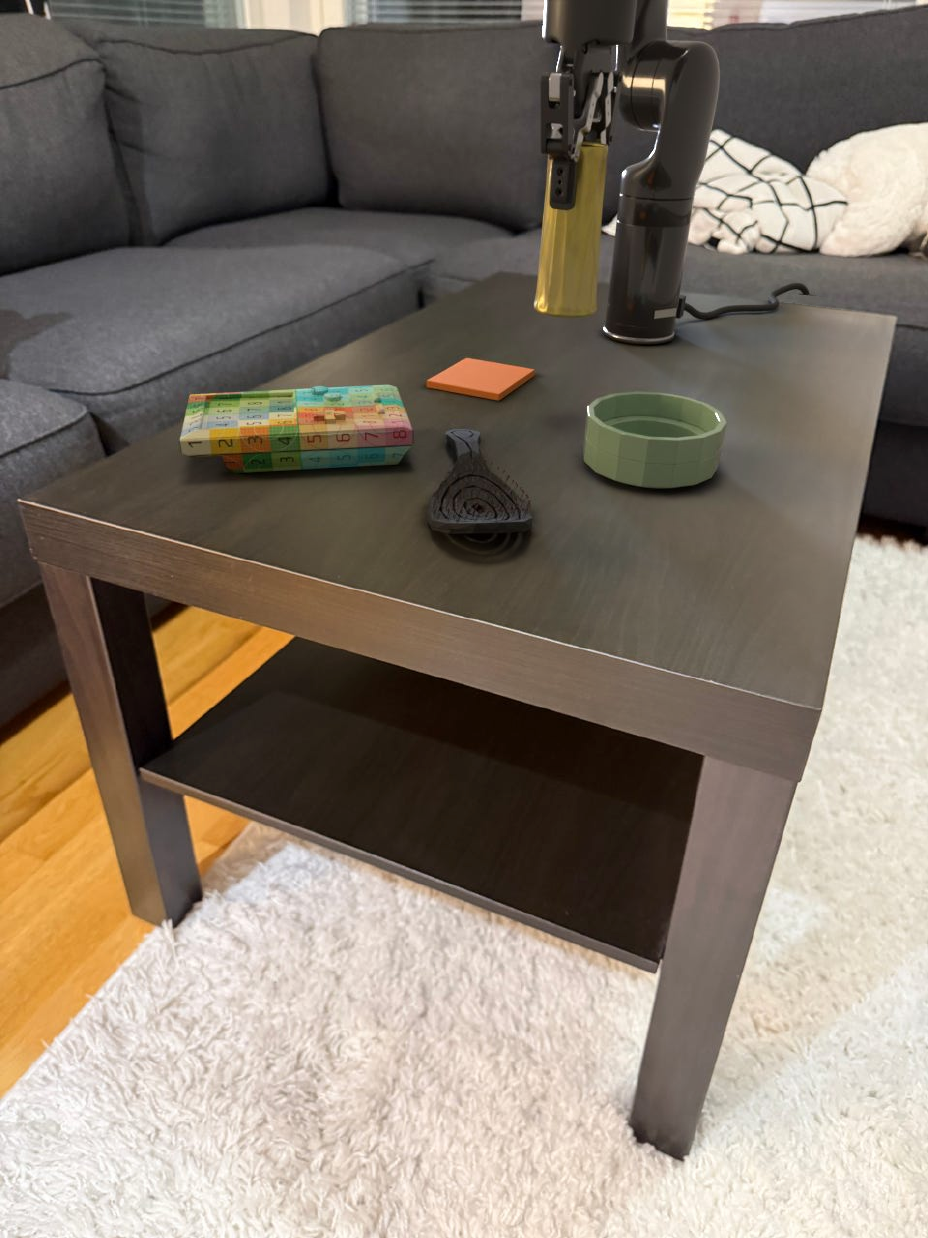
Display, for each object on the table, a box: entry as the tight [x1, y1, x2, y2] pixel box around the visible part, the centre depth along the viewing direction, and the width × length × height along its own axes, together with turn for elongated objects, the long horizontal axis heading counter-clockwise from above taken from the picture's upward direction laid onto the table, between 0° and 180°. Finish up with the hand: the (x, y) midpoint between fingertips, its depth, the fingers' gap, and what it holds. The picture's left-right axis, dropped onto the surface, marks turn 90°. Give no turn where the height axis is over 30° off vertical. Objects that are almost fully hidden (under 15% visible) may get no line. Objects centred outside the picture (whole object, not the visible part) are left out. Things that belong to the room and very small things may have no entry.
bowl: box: [582, 390, 727, 489], centre depth 79 cm, size 12×12×5 cm
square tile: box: [426, 357, 536, 402], centre depth 100 cm, size 10×9×1 cm
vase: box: [533, 142, 609, 319], centre depth 81 cm, size 6×6×14 cm
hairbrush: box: [426, 428, 533, 534], centre depth 75 cm, size 8×4×25 cm
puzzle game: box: [178, 384, 414, 474], centre depth 81 cm, size 12×5×20 cm
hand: (573, 203), depth 79 cm, fingers closed on vase, 5 cm apart
